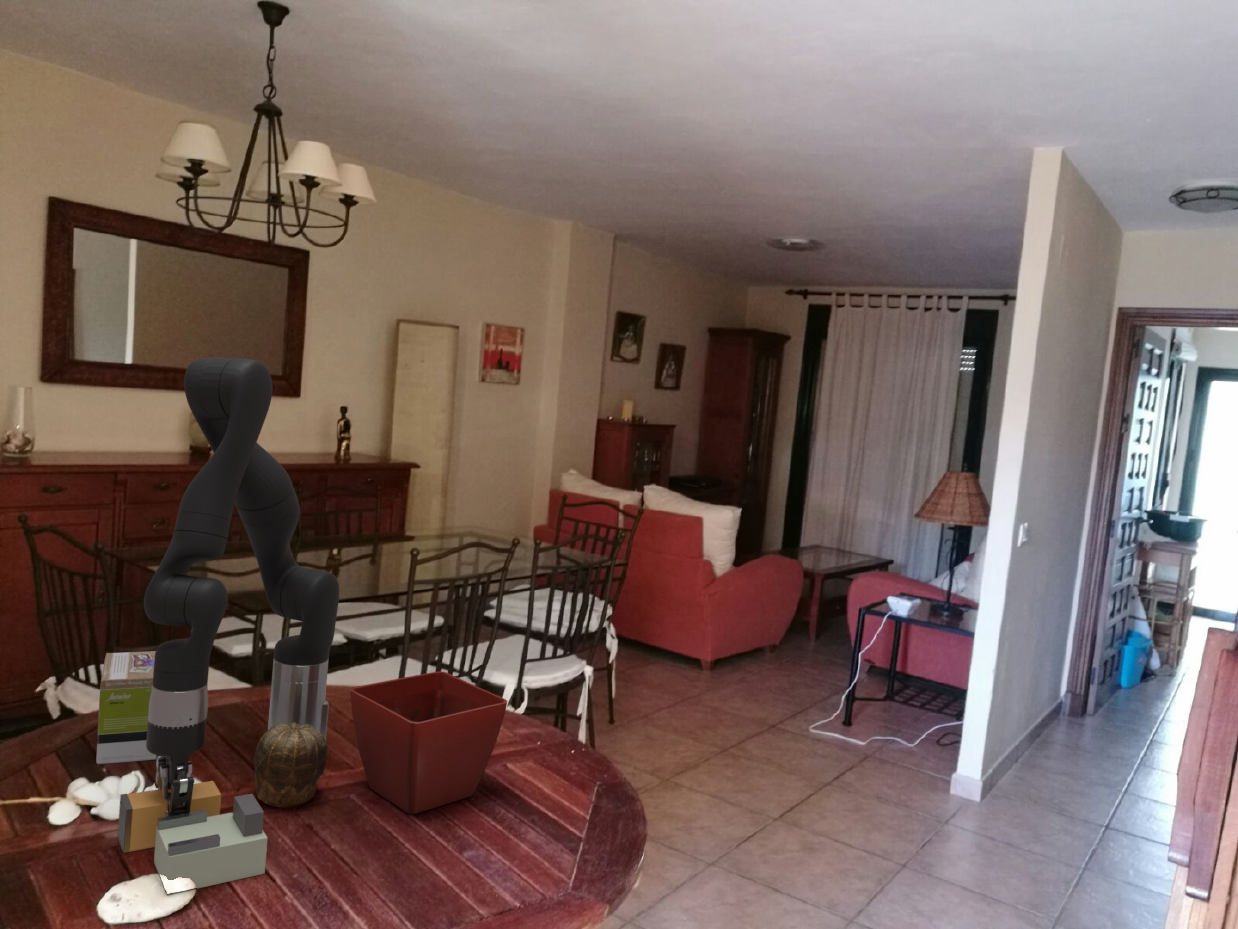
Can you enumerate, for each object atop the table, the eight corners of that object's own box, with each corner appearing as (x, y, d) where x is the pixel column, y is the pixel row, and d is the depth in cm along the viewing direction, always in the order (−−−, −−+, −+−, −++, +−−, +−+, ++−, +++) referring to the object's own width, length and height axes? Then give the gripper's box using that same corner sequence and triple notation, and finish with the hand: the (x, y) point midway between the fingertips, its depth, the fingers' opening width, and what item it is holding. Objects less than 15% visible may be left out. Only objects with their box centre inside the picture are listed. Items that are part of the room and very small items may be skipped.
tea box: (99, 731, 160) (105, 650, 159) (162, 727, 165) (168, 648, 164) (94, 766, 147) (100, 678, 146) (162, 760, 151) (169, 675, 150)
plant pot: (338, 785, 149) (347, 686, 148) (433, 759, 163) (442, 669, 162) (403, 831, 136) (413, 723, 135) (500, 799, 150) (510, 701, 149)
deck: (247, 843, 128) (251, 789, 127) (264, 873, 121) (269, 816, 120) (154, 862, 121) (158, 804, 120) (166, 895, 114) (171, 834, 113)
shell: (254, 818, 135) (260, 741, 134) (247, 787, 145) (253, 715, 144) (328, 810, 140) (335, 735, 139) (317, 780, 150) (323, 711, 149)
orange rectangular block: (210, 819, 133) (213, 780, 133) (218, 835, 129) (221, 794, 129) (117, 836, 126) (120, 794, 126) (123, 853, 122) (126, 810, 122)
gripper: (218, 729, 123) (209, 848, 124) (195, 695, 134) (187, 805, 136) (158, 737, 119) (148, 860, 120) (139, 701, 130) (131, 814, 131)
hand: (169, 830), depth 128 cm, fingers closed on orange rectangular block, 5 cm apart
